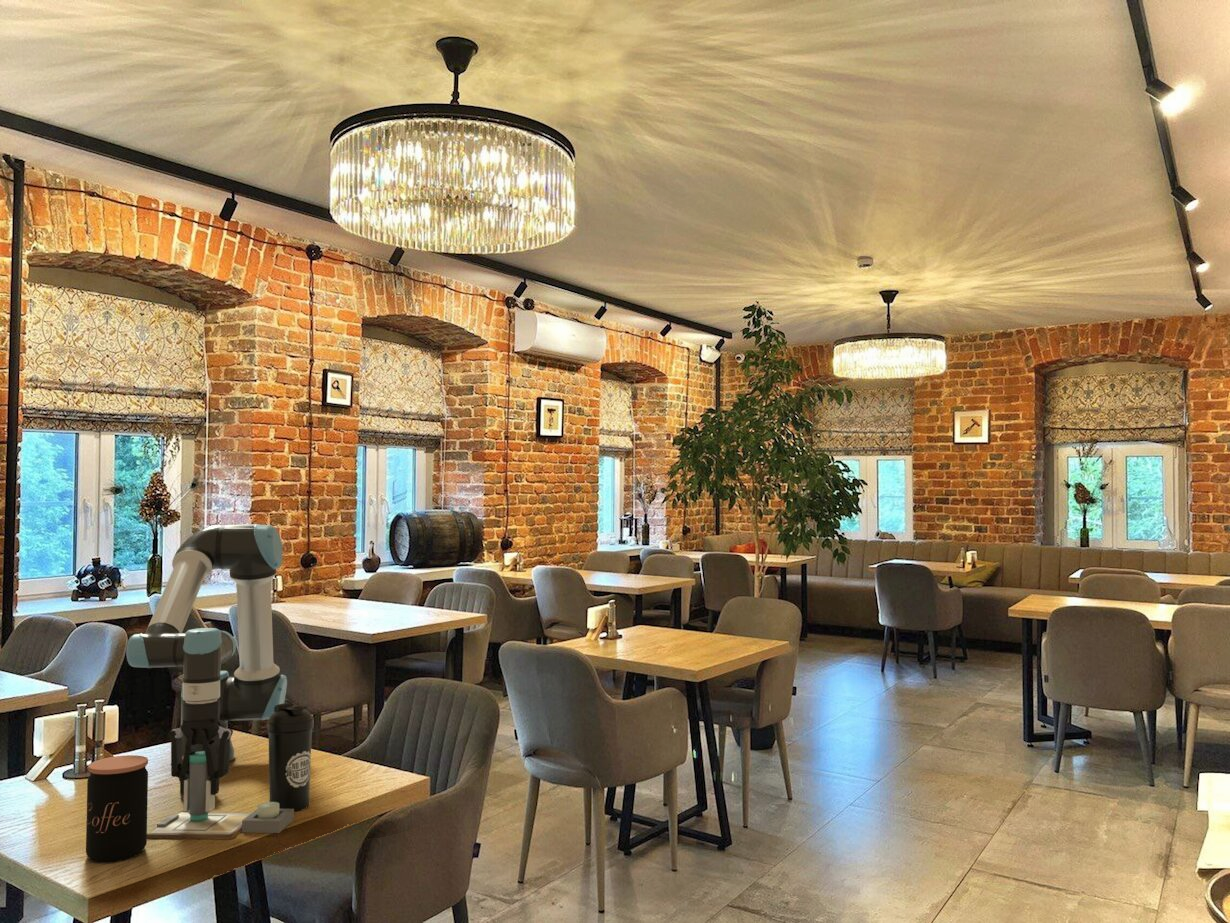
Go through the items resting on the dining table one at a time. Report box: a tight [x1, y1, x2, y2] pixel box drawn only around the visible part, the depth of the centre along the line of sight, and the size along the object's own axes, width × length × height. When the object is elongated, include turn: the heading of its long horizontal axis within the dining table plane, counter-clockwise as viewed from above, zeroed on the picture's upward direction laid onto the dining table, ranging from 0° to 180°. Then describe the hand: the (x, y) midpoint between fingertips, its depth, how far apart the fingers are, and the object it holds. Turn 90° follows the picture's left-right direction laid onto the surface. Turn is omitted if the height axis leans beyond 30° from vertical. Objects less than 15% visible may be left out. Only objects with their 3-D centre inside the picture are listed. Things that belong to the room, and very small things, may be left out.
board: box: [147, 811, 252, 840], centre depth 203 cm, size 14×18×2 cm
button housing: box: [241, 808, 295, 834], centre depth 204 cm, size 8×8×2 cm
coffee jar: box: [85, 754, 149, 864], centre depth 188 cm, size 11×11×18 cm
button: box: [257, 801, 279, 819], centre depth 204 cm, size 4×4×3 cm
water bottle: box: [266, 702, 315, 813], centre depth 217 cm, size 10×10×23 cm
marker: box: [188, 751, 211, 822], centre depth 206 cm, size 4×4×14 cm
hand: (199, 809), depth 205 cm, fingers closed on marker, 4 cm apart
